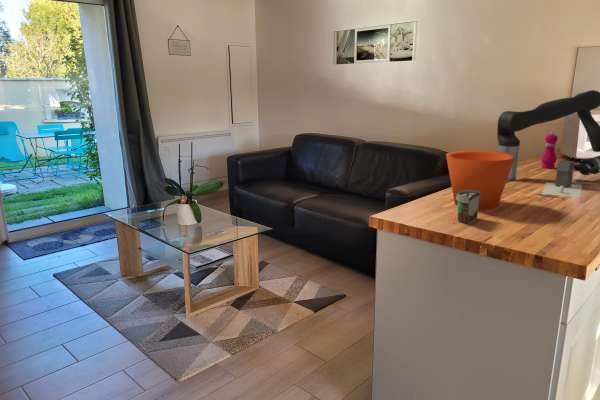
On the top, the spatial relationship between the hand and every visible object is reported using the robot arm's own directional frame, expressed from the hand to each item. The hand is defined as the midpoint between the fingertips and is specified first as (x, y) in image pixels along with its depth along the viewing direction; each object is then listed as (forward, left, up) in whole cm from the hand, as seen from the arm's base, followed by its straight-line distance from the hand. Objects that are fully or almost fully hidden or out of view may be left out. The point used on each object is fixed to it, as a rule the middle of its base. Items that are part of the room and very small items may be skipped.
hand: (573, 170), depth 199 cm
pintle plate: (-10, -10, -7) cm, 16 cm away
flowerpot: (-54, -25, -7) cm, 60 cm away
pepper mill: (+12, +43, -7) cm, 45 cm away
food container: (-66, -45, -7) cm, 80 cm away
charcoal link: (-7, -5, -6) cm, 10 cm away
